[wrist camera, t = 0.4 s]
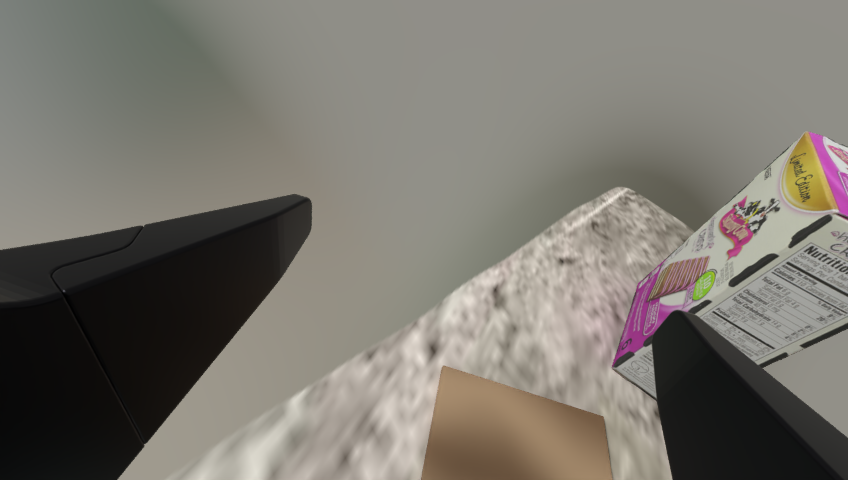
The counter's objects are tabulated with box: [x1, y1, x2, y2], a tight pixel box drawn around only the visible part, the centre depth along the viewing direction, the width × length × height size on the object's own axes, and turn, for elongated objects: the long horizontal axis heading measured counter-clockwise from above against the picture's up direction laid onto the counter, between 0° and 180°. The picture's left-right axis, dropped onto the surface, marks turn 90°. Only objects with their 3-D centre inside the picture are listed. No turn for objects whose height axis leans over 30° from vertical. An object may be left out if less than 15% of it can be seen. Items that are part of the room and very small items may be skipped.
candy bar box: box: [612, 132, 848, 400], centre depth 23 cm, size 11×5×16 cm, turn 144°
